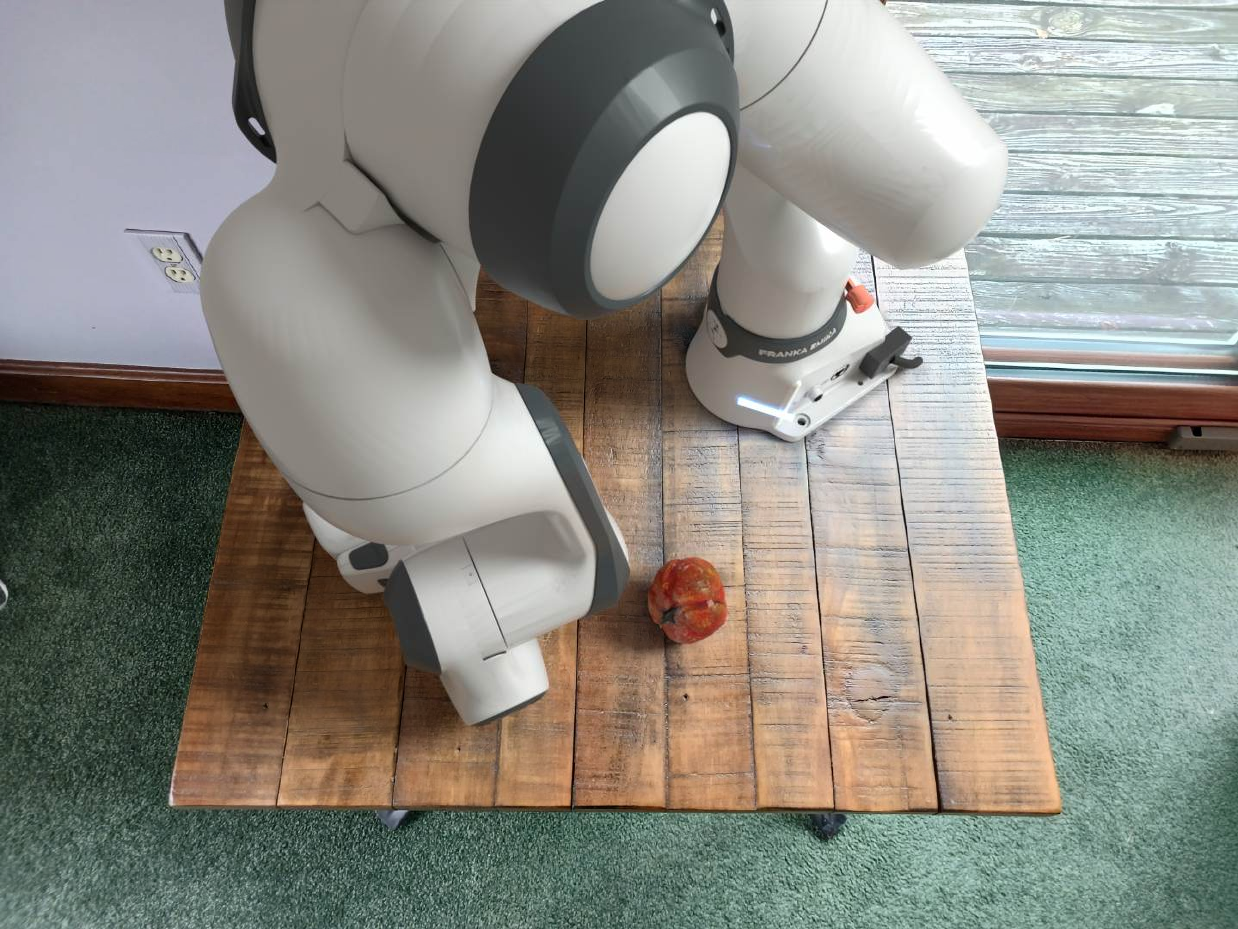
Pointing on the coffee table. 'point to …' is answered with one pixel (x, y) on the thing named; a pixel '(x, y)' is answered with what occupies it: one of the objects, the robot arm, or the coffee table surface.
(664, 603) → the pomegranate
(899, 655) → the coffee table surface
